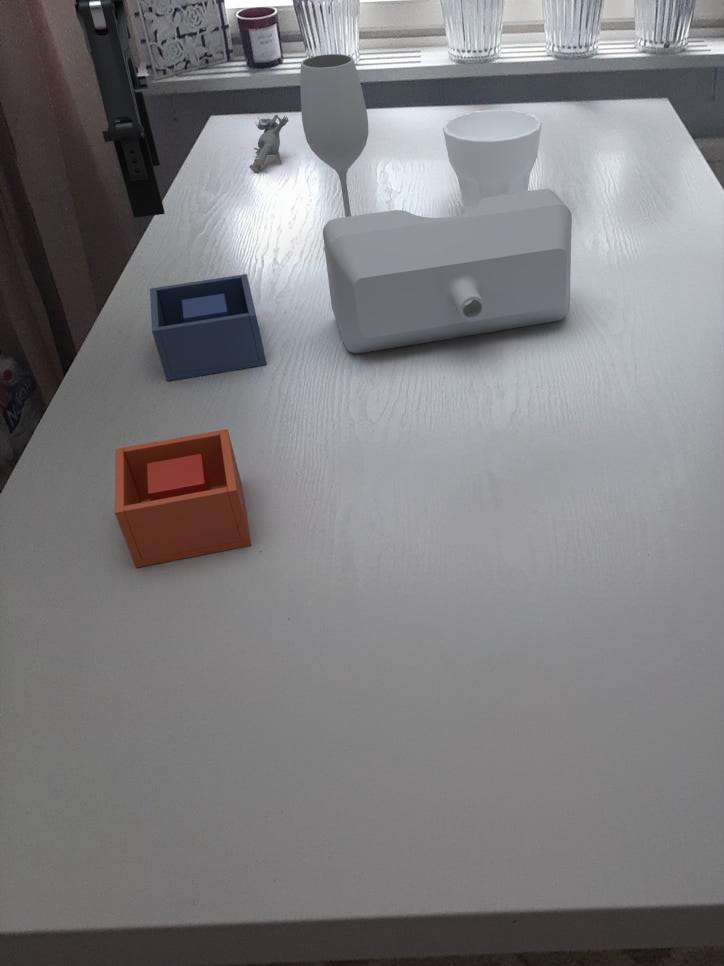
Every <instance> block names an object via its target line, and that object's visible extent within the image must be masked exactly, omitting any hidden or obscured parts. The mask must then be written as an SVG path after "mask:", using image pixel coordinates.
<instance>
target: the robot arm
mask: <svg viewBox="0 0 724 966" xmlns="http://www.w3.org/2000/svg"><path fill="white" fill-rule="evenodd" d="M74 9H75V13H76V18H77V20H78V23H79V26H80V28H81V30H82V32H83V35H84V40H85V45H86V49H87V51H88V54H89V56H90V59H91V60H92V61H93V66H94V70H95V74H96V78H97V83H98V87H99V92H100V96H101V99H102V104H103V108H104V109H103V110H104V112H105V113H104V114H105V116H106V121H107V125H108V127H107V130H101V133H102V137H103V140H104V142H105V143H112V142H113V145H114V149H115V152H116V156H117V159H118V164H119V167H120V171H121V174H122V175H121V176H122V178H123V181H124V186H125V189H126V194H127V196H128V201H129V204H130V209H131V211H132V215H133V218H134V219H136V218H137V219H138V218H144V217H145V218H146V217H152V216H159V215H165V208H164V207H165V206H164V204H163V200H162V196H161V191H160V187H159V184H158V180H157V175H156V172H155V167H157V166H158V167H159V166H161V163H160V159H159V154H158V151H157V146H156V142H155V137H154V134H153V130H152V126H151V121H150V117H149V113H148V108H147V106H146V101H145V97H144V93H143V92H144V91H137V90H147V89H148V90H149V86H148V85H149V84H148V80H147V77H146V75H139V68H138V66H137V65H136V63H135V58H134V55H133V51H132V47H131V43H130V40H131V38H132V37H131V31H130V25H129V20H128V19H129V18H128V10H127V5H126V1H125V0H75V3H74Z"/></svg>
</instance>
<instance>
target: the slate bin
mask: <svg viewBox="0 0 724 966" xmlns="http://www.w3.org/2000/svg"><path fill="white" fill-rule="evenodd" d="M149 294H150V295H149V297H150V298H149V299H150V300H149V301H150V317H151V332H152V336H153V340H154V343H155V346H156V349H157V353H158V356H159V360H160V363H161V366H162V369H163V373H164V376H165V380H166V381H167V382H171V381H177V380H183V379H189V378H195V377H201V376H207V375H213V374H214V375H215V374H218V373H219V374H220V373H226V372H232V371H238V370H243V369H248V368H249V369H250V368H256V367H261V366H267V365H268V364H267V358H266V354H265V350H264V349H265V348H264V345H263V341H262V336H261V331H260V327H259V326H260V325H259V322H258V318H257V317H258V316H257V313H256V307H255V303H254V299H253V295H252V291H251V286H250V282H249V278H248V274H247V273H244V274H238V275H230V276H224V277H217V278H211V279H205V280H197V281H191V282H184V283H178V284H170V285H164V286H158V287H151V288H149ZM218 294H224V295H225V299H226V303H227V308H228V312H229V316H226V317H220V318H213V319H207V320H201V321H194V322H188V323H185V322H184V318H183V308H182V300H186V299H192V298H199V297H205V296H212V295H218Z"/></svg>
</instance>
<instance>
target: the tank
mask: <svg viewBox="0 0 724 966" xmlns="http://www.w3.org/2000/svg"><path fill="white" fill-rule="evenodd" d="M572 223H573V215H572V211H571V210H570V209H569V206H567V205H566V204H565V202H564V201H563V200H562V199H561V198H560V197H559V196H558V194H556V193H555V192H554V190H552V189H550V188H542V189H541V188H540V189H533V190H528V191H526V192H519V193H512V194H505V195H498V196H491V197H486V198H484V199H482V200H481V201H480V203H479V205H478V206H477V207H476V208H475V209H474V210H472V211H470V212H467V213H465V214H463V213H461V214H458V215H453V216H452V215H451V216H447V217H446V216H445V217H428V216H421V215H417V214H414V213H411V212H409V211H407V210H403V209H393V210H386V211H385V210H384V211H379V212H371V213H364V214H357V215H351V216H349V217H345V216H343V217H335V218H332V219H330V220H328V221H327V222H326V223H325V225H324V226H323V228H322V239H323V248H324V247H325V251H324V254H325V255H324V256H325V261H326V262H325V263H326V272H327V280H328V289H329V298H330V304H331V310H332V314H333V316H334V319H335V321H336V325H337V328H338V331H339V334H340V337H341V340H342V342H343V345H344V347H345V349H346V350H347V351H348V352H350V353H352V354H365V353H370V352H377V351H384V350H390V349H395V348H401V347H408V346H413V345H420V344H425V343H426V344H427V343H432V342H439V341H444V340H450V339H457V338H462V337H469V336H475V335H481V334H487V333H493V332H501V331H505V330H511V329H512V330H513V329H517V328H518V329H519V328H525V327H530V326H536V325H537V326H538V325H543V324H549V323H554V322H558V321H561V320H563V319H564V318H565V317H566V316H567V315H568V314H569V311H570V306H571V270H572V268H571V267H572V230H573V229H572V227H573V226H572Z"/></svg>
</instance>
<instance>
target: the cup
mask: <svg viewBox="0 0 724 966" xmlns="http://www.w3.org/2000/svg"><path fill="white" fill-rule="evenodd" d="M541 130H542V121H541V120H540V119H539V117H538V116H536V115H534V114H531V113H529V112H526V111H519V110H513V109H485V110H476V111H469V112H466V113H462V114H459V115H456V116H454V117H452V118H450V119H448V120H446V122H445V124H444V125H443V127H442V131H443V136H444V141H445V147H446V152H447V158H448V162H449V163H450V166H451V167H452V169H453V171H454V173H455V175H456V177H457V182H458V186H459V190H460V194H461V199H462V205H463V207H462V211H463V212H462V214H465V213H467V212H470V211H472V210H474V209H475V208H476V207H477V206H478V205H479V203H480V201H481V200H482V199H484V198H486V197H491V196H498V195H505V194H512V193H519V192H526V191H529V184H530V177H531V172H532V170H533V168H534V166H535V163H536V161H537V158H538V155H539V153H538V152H539V145H540V139H541V138H540V137H541Z"/></svg>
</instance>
